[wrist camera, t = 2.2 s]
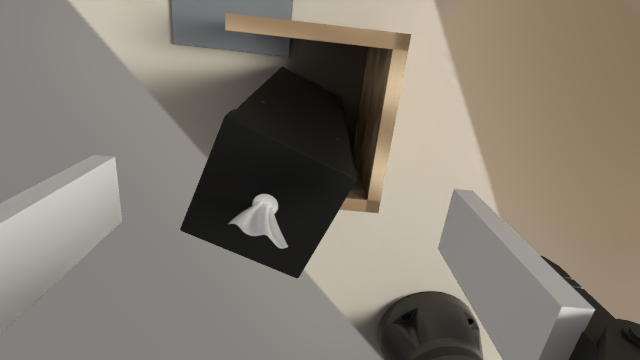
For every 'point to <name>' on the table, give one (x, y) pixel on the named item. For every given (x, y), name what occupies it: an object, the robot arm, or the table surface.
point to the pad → (209, 25)
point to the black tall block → (275, 174)
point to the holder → (375, 100)
